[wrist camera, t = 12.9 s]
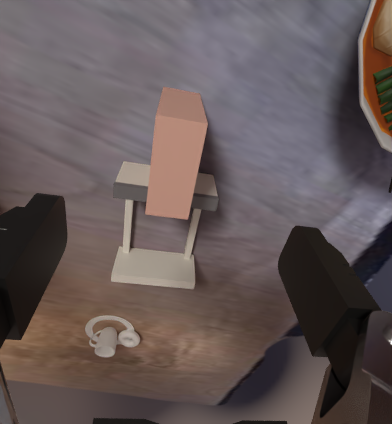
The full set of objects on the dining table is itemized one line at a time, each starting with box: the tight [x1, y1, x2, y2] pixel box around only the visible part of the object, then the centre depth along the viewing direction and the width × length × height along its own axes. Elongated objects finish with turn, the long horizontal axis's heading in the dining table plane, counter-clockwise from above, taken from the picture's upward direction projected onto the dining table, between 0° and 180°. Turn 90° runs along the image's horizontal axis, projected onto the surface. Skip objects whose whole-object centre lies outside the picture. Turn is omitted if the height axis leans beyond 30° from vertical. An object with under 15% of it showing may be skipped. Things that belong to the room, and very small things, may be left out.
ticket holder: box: [111, 161, 219, 289], centre depth 33 cm, size 14×10×6 cm
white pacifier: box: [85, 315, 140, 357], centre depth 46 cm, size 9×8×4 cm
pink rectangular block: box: [145, 87, 208, 220], centre depth 25 cm, size 8×4×10 cm, turn 169°
